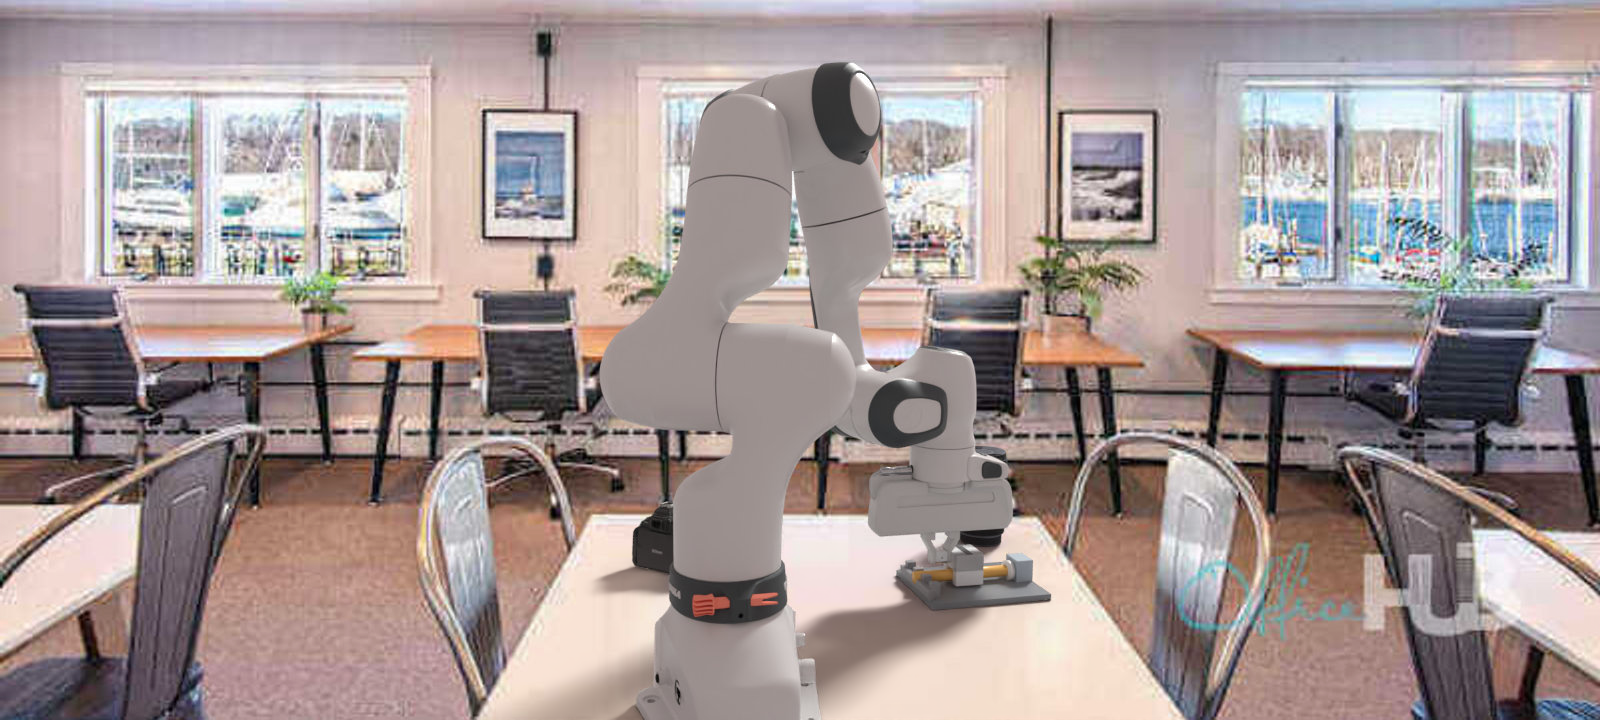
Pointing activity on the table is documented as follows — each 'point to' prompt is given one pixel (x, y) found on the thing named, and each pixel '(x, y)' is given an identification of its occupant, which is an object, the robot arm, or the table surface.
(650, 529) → the camera
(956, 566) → the sleeve
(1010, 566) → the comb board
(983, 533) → the camera lens
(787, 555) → the table surface
